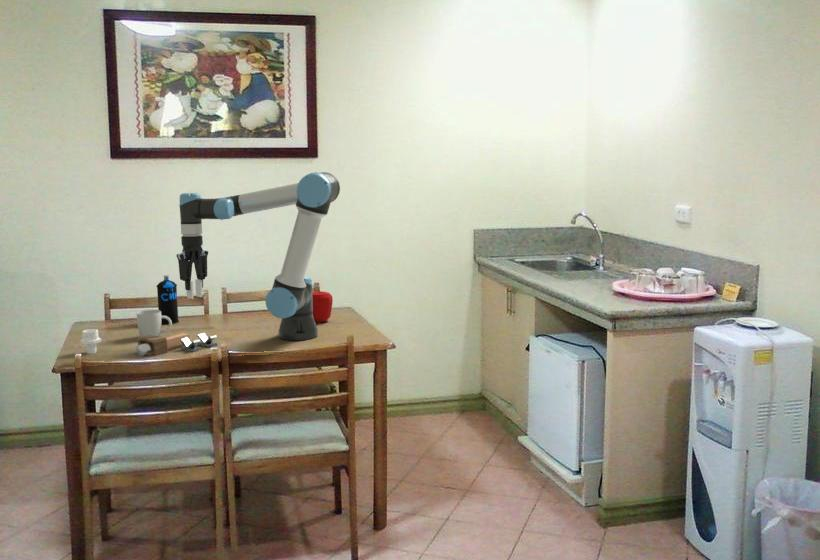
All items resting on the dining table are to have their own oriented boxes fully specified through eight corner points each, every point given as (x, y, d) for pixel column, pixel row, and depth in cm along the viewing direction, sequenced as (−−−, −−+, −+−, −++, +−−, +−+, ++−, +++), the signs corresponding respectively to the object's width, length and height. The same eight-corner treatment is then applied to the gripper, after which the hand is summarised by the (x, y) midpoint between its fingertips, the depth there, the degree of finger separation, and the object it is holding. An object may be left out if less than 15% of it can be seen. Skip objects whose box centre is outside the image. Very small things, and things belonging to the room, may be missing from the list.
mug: (138, 341, 294) (136, 315, 292) (138, 336, 302) (136, 310, 301) (173, 338, 298) (171, 312, 296) (172, 333, 306) (170, 308, 305)
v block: (217, 345, 286) (217, 335, 285) (194, 352, 277) (193, 341, 276) (203, 343, 290) (203, 332, 289) (180, 349, 280) (179, 338, 280)
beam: (197, 344, 288) (196, 330, 287) (150, 356, 271) (150, 341, 270) (180, 341, 293) (179, 327, 292) (133, 353, 275) (133, 338, 274)
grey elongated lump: (159, 349, 282) (158, 338, 281) (166, 350, 279) (166, 340, 279) (136, 355, 273) (135, 344, 273) (143, 357, 271) (143, 345, 270)
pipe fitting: (99, 354, 274) (97, 332, 273) (78, 355, 273) (76, 332, 272) (104, 350, 280) (103, 328, 279) (84, 350, 280) (82, 328, 278)
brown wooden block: (189, 344, 289) (189, 334, 288) (167, 350, 280) (166, 339, 279) (183, 343, 291) (182, 333, 290) (161, 349, 282) (160, 338, 281)
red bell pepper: (337, 321, 327) (337, 289, 325) (317, 324, 320) (316, 292, 318) (323, 317, 335) (322, 286, 333) (303, 320, 328) (302, 289, 326)
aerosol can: (155, 322, 327) (152, 275, 324) (174, 319, 332) (171, 273, 329) (163, 325, 321) (160, 277, 318) (182, 322, 326) (179, 275, 323)
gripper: (201, 232, 296) (204, 293, 300) (166, 236, 282) (170, 300, 286) (215, 233, 292) (218, 295, 296) (180, 237, 278) (184, 302, 282)
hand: (194, 297), depth 291 cm, fingers open, 4 cm apart
